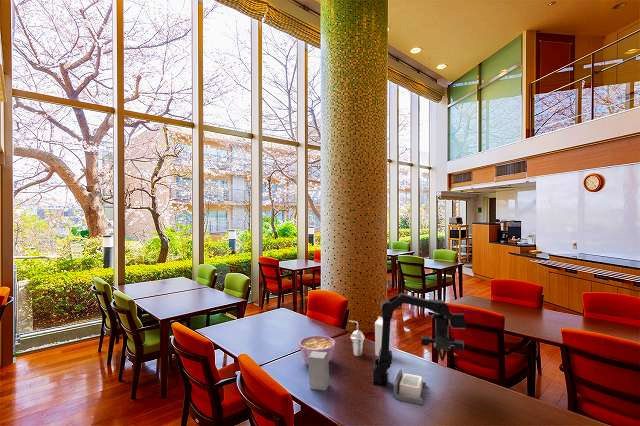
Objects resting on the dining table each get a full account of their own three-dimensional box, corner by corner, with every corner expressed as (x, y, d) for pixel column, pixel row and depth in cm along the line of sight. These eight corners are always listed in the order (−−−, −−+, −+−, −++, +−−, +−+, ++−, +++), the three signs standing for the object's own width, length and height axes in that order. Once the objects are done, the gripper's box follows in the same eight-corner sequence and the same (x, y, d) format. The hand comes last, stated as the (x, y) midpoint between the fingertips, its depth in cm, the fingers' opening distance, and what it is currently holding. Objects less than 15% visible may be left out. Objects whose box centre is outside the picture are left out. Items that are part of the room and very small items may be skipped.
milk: (383, 358, 183) (382, 319, 183) (375, 355, 188) (374, 317, 188) (390, 355, 186) (389, 317, 186) (382, 352, 191) (381, 315, 191)
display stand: (393, 398, 143) (393, 385, 143) (400, 380, 158) (400, 368, 158) (421, 404, 138) (421, 390, 138) (426, 385, 153) (426, 373, 153)
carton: (399, 395, 146) (399, 384, 146) (404, 383, 156) (403, 372, 156) (419, 399, 143) (418, 387, 143) (422, 387, 153) (422, 376, 153)
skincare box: (329, 384, 156) (329, 351, 156) (325, 392, 149) (324, 358, 149) (313, 381, 159) (312, 349, 159) (308, 389, 152) (307, 355, 152)
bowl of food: (293, 368, 173) (292, 346, 173) (308, 353, 192) (308, 333, 192) (328, 374, 166) (327, 352, 166) (340, 358, 184) (340, 337, 184)
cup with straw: (361, 358, 183) (361, 323, 183) (347, 355, 188) (346, 321, 188) (367, 352, 191) (366, 319, 191) (353, 349, 195) (352, 316, 195)
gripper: (419, 331, 149) (419, 364, 149) (463, 336, 142) (463, 372, 142) (422, 323, 160) (422, 354, 160) (463, 328, 152) (464, 361, 152)
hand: (442, 360), depth 153 cm, fingers closed
